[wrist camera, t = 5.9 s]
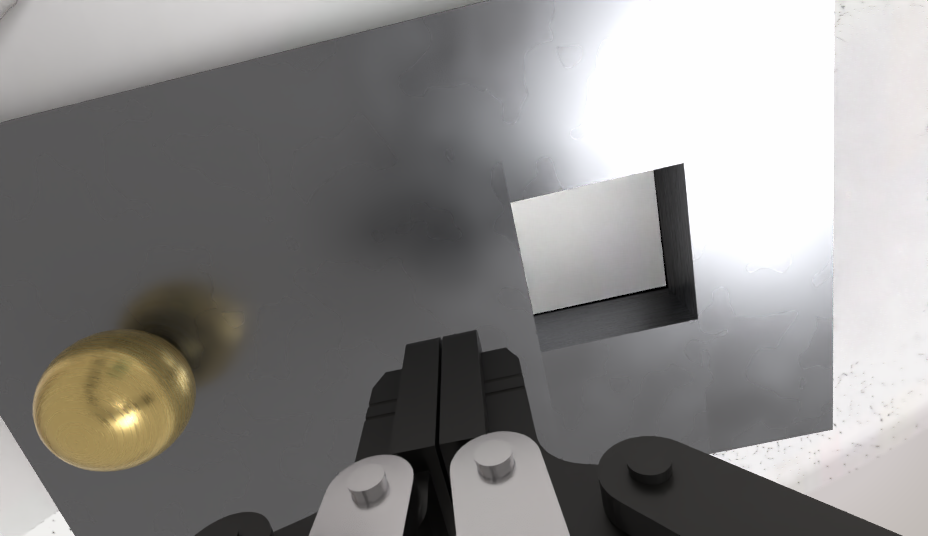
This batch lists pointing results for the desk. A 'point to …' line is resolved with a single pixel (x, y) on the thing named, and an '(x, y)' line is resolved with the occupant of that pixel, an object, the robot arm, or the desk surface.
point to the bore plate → (430, 239)
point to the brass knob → (114, 400)
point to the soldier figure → (6, 6)
